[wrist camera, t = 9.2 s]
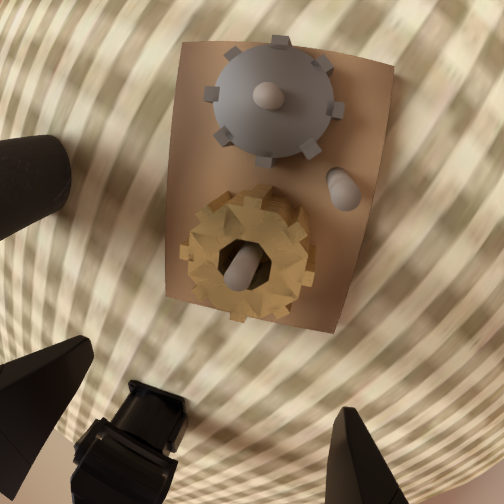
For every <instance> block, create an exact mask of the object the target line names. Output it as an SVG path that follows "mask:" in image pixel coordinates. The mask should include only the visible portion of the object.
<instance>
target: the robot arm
mask: <svg viewBox="0 0 504 504" xmlns="http://www.w3.org/2000/svg"><path fill="white" fill-rule="evenodd" d="M93 359H94V352H93V348H92V344H91V341H90V339H89V338H87V337H85V336H83V335H78V336H76V337H73V338H70V339H68V340H65V341H63V342H60V343H57V344H55V345H52V346H50V347H47V348H44V349H42V350H39V351H36V352H34V353H31V354H29V355H26V356H23V357H21V358H18V359H15V360H13V361H10V362H7V363H5V364H2V365H0V492H1V493H2V494H3V495H5V496H6V497H7V498H9V499H10V500H11V501H13V499H14V498H15V496H16V494H17V492H18V490H19V489H20V487H21V485H22V483H23V481H24V479H25V477H26V475H27V474H28V472H29V470H30V468H31V466H32V464H33V463H34V461H35V459H36V457H37V456H38V454H39V452H40V450H41V448H42V447H43V445H44V443H45V442H46V440H47V438H48V437H49V435H50V434H51V432H52V430H53V429H54V427H55V425H56V424H57V422H58V420H59V419H60V417H61V416H62V414H63V412H64V411H65V409H66V408H67V406H68V404H69V403H70V401H71V400H72V398H73V397H74V395H75V394H76V392H77V390H78V388H79V387H80V385H81V383H82V381H83V379H84V377H85V375H86V373H87V371H88V369H89V367H90V365H91V363H92V361H93ZM128 385H129V390H130V394H129V395H128V397H127V398H126V400H125V401H124V402H123V404H122V405H121V407H120V408H119V410H118V411H117V413H116V414H115V416H114V417H113V419H112V420H111V422H109V421H107V419H106V418H104V417H103V418H102V419H101V420H98V419H95V421H94V422H93V423H92V425H91V426H90V428H89V429H88V430H87V431H86V432H85V433H84V435H83V436H82V437H81V438H80V439H79V440H78V441H77V442H76V443H75V445H74V448H75V455H74V456H75V458H74V460H73V463H75V464H76V465H78V466H77V468H76V470H75V471H74V473H73V474H72V476H71V480H70V482H71V493H72V502H73V504H162V503H163V501H164V499H165V498H166V496H167V493H168V491H169V488H170V485H171V482H172V479H173V476H174V473H175V470H176V467H177V464H178V461H177V460H175V459H171V458H169V457H168V456H169V454H170V452H172V453H175V452H176V451H177V449H178V447H179V445H180V443H181V441H182V438H183V436H184V434H185V432H186V430H187V427H188V418H187V414H186V413H185V401H184V399H182V398H181V397H178V396H175V395H172V394H169V393H166V392H163V391H160V390H157V389H155V388H152V387H149V386H147V385H144V384H141V383H139V382H136V381H134V380H130V381H129V383H128ZM100 437H101V438H102V440H101V439H100ZM325 504H409V503H408V501H407V499H406V498H405V496H404V494H403V492H402V491H401V489H400V488H399V485H398V483H397V482H396V480H395V478H394V476H393V474H392V473H391V471H390V469H389V467H388V465H387V464H386V462H385V460H384V458H383V456H382V455H381V453H380V451H379V449H378V447H377V446H376V444H375V442H374V440H373V438H372V437H371V435H370V433H369V431H368V430H367V428H366V426H365V424H364V422H363V421H362V419H361V417H360V415H359V414H358V412H357V410H356V409H355V408H353V407H342V408H341V410H340V412H339V414H338V416H337V417H336V419H335V421H334V424H333V430H332V437H331V444H330V450H329V456H328V462H327V475H326V493H325Z"/></svg>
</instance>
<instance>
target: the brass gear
mask: <svg viewBox="0 0 504 504" xmlns="http://www.w3.org/2000/svg"><path fill="white" fill-rule="evenodd" d="M272 189H273V186H272V185H266V184H260V183H259V184H257V185H256V186H255V187H254V188H253V189H252V190H251V191H250V190H242V191H241V192H240V193H238V194H237V195H236V196H234V197H232V195H231V194H230V193H229V192H228V191H226V192H225V193H223V194H222V195H221V196H219V197H218V198H216V199H215V200H213V201H212V202H210V203H209V204H207V205H206V206H205V207H204V208H202V209H201V210H200V211H199V212H197V213H196V214H195V215H196V216H197V218H198V219H199V220H200V222H201V223H199V224H198V225H197V226H196V227H195V228H193V229H192V230H191V231H190V236H189V237H188V238H187V239H186V240H185V241H183V242H182V243H181V244H180V259H183V260H187V261H188V275H189V276H190V278H191V279H192V280H193V281H194V283H195V286H194V287H193V288H192V290H191V291H192V292H193V293H194V294H195V296H196V297H197V298H198V299H199V300H200V301H202V300H204V299H205V298H208V299H209V301H210V302H211V303H212V304H213V305H214V307H215V308H216V309H219V310H224V311H228V312H231V313H230V320H234V321H238V322H242V323H244V322H245V319H246V317H247V316H249V317H254V318H258V319H261V318H263V317H265V316H267V315H268V314H270V313H273V314H274V316H275V317H276V318H277V319H279V318H281V317H283V316H285V315H287V314H289V313H290V312H291V306H292V302H293V301H295V300H297V299H298V297H299V293H300V289H301V285H303V286H308V287H312V283H313V279H314V275H315V259H316V246H313V245H309V240H310V230H309V229H308V227H309V216H310V215H309V214H308V212H307V211H306V210H305V208H304V207H303V205H302V204H300V205H299V206H297V207H296V208H293V206H292V205H291V203H290V202H289V201H288V199H287V198H286V197H283V196H278V195H273V194H272ZM236 239H240V240H245V241H250V242H255V243H259V244H260V246H261V247H262V248H263V250H264V251H265V252H266V254H267V255H268V256H269V258H270V259H268V260H266V261H265V262H259V265H258V267H257V269H256V271H255V274H254V276H253V278H252V280H251V283H250V285H249V287H248V288H247V289H246V290H244V291H241V292H237V291H233V290H231V289H230V288H228V287H227V286H226V284H225V282H224V274H225V272H226V271H227V269H228V268H229V266H230V264H231V263H232V261H233V260H234V258H235V257H236V255H237V254H238V252H239V249H238V248H237V246H236V245H235V243H236Z"/></svg>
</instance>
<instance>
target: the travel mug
mask: <svg viewBox="0 0 504 504" xmlns="http://www.w3.org/2000/svg"><path fill="white" fill-rule="evenodd" d="M70 185H71V170H70V163H69V159H68V156H67V153H66V151H65V149H64V147H63V146H62V144H61V143H60V142H59V141H58V140H57V139H56V138H54V137H52V136H49V135H38V136H28V137H21V138H14V139H7V140H1V141H0V241H1V240H3V239H5V238H6V237H8V236H10V235H12V234H14V233H15V232H17V231H19V230H21V229H23V228H25V227H27V226H29V225H31V224H32V223H34V222H36V221H38V220H40V219H42V218H44V217H46V216H48V215H50V214H52V213H54V212H56V211H57V210H59V209H60V208H61V207H62V206H63V205H64V203H65V202H66V200H67V197H68V195H69V191H70Z"/></svg>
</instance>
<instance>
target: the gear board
mask: <svg viewBox="0 0 504 504" xmlns="http://www.w3.org/2000/svg"><path fill="white" fill-rule="evenodd" d="M393 75H394V66H391V65H388V64H384V63H381V62H377V61H373V60H369V59H365V58H361V57H356V56H352V55H347V54H342V53H337V52H331V51H326V50H320V49H313V48H307V47H299V46H292V45H291V41H290V38H289V36H280V35H272V41H271V43H257V42H235V41H201V42H182V48H181V55H180V61H179V68H178V75H177V82H176V90H175V98H174V107H173V117H172V127H171V138H170V150H169V163H168V180H167V200H166V235H165V284H166V296H167V297H171V298H175V299H178V300H182V301H186V302H190V303H194V304H198V305H202V306H206V307H210V308H214V309H216V308H215V307H214V305H213V304H212V303H211V302H210V301H209V299H208V298H205V299H204V300H202V301H200V300H199V299H198V298H197V297H196V296H195V294H194V293H193V292H192V291H191V290H192V288H193V287H194V286H195V283H194V281H193V280H192V279H191V278H190V276H189V275H188V261H187V260H183V259H180V244H181V243H182V242H183V241H185V240H186V239H187V238H188V237H189V236H190V231H191V230H192V229H193V228H195V227H196V226H197V225H198V224H199V223H201V222H200V220H199V219H198V218H197V216H196V215H195V214H196V213H197V212H199V211H200V210H201V209H202V208H204V207H205V206H206V205H207V204H209V203H210V202H212V201H213V200H215V199H216V198H218V197H219V196H221V195H222V194H223V193H225V192H226V191H228V192H229V193H230V194H231V195H232V197H234V196H236V195H237V194H238V193H240V192H241V191H242V190H250V191H251V190H252V189H253V188H254V187H255V186H256V185H257V184H259V183H260V184H266V185H272V186H273V189H272V194H273V195H278V196H283V197H286V198H287V199H288V201H289V202H290V203H291V205H292V206H293V208H296V207H297V206H299V205H300V204H302V205H303V207H304V208H305V210H306V211H307V212H308V214H309V215H310V216H309V227H308V229H309V230H310V240H309V245H313V246H316V259H315V275H314V279H313V283H312V287H308V286H303V285H301V289H300V293H299V297H298V299H297V300H295V301H293V302H292V306H291V312H290V313H289V314H287V315H285V316H283V317H281V318H279V319H277V318H276V317H275V316H274V314H273V313H270V314H268V315H267V316H265V317H263V318H261V320H266V321H271V322H275V323H280V324H285V325H290V326H295V327H300V328H305V329H310V330H316V331H321V332H327V333H332V334H334V332H335V329H336V326H337V323H338V320H339V317H340V314H341V311H342V308H343V305H344V302H345V299H346V296H347V293H348V290H349V286H350V283H351V280H352V276H353V273H354V270H355V266H356V263H357V259H358V256H359V252H360V248H361V245H362V241H363V237H364V233H365V229H366V225H367V221H368V217H369V213H370V209H371V205H372V200H373V196H374V191H375V187H376V182H377V177H378V172H379V167H380V162H381V157H382V152H383V146H384V140H385V134H386V128H387V122H388V115H389V108H390V101H391V93H392V84H393ZM235 245H236V246H237V248H238V249H239V252H238V254H237V255H236V257H235V258H234V260H233V261H232V263H231V264H230V266H229V268H228V269H227V271H226V272H225V274H224V282H225V284H226V286H227V287H228V288H230V289H231V290H233V291H237V292H241V291H244V290H246V289H247V288H248V287H249V285H250V283H251V280H252V278H253V276H254V274H255V271H256V269H257V267H258V265H259V262H265V261H266V260H268V259H270V258H269V256H268V255H267V254H266V252H265V251H264V250H263V248H262V247H261V246H260V244H259V243H255V242H250V241H245V240H240V239H236V243H235ZM218 310H219V309H218ZM222 311H224V310H222ZM226 312H228V311H226ZM230 313H231V312H230ZM248 317H249V316H248ZM252 318H254V317H252ZM257 319H258V318H257Z"/></svg>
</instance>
